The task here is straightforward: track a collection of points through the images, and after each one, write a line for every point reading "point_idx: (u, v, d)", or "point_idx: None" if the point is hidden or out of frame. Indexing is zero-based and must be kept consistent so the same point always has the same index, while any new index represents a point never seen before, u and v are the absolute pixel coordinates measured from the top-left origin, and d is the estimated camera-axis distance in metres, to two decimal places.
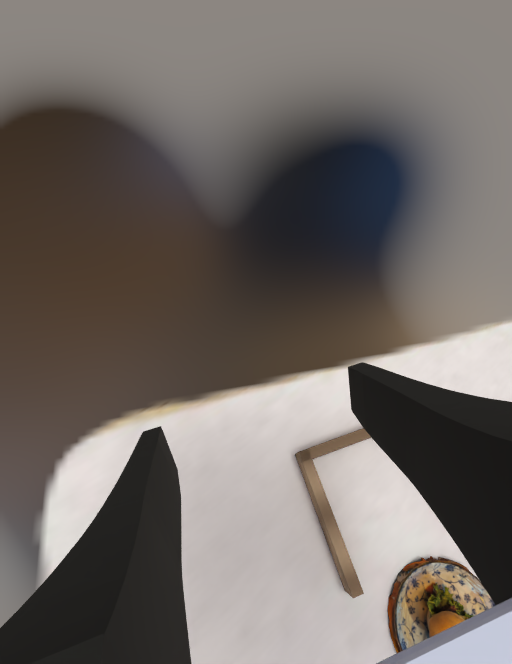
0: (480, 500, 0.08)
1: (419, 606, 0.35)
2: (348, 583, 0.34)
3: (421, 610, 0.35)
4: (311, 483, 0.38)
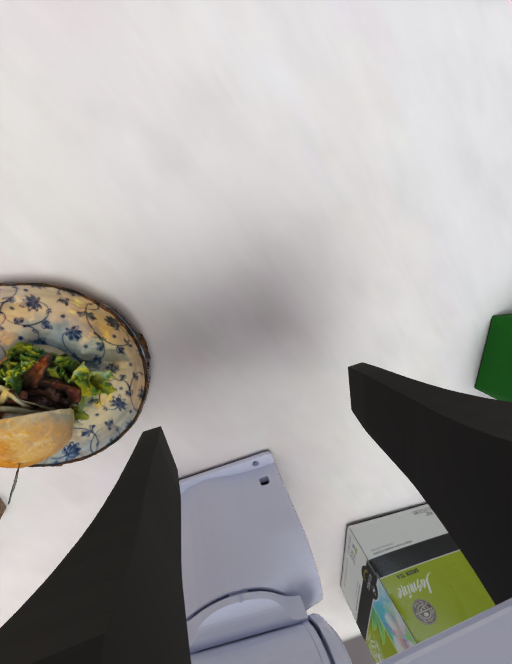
0: (480, 500, 0.08)
1: None
2: None
3: None
4: None
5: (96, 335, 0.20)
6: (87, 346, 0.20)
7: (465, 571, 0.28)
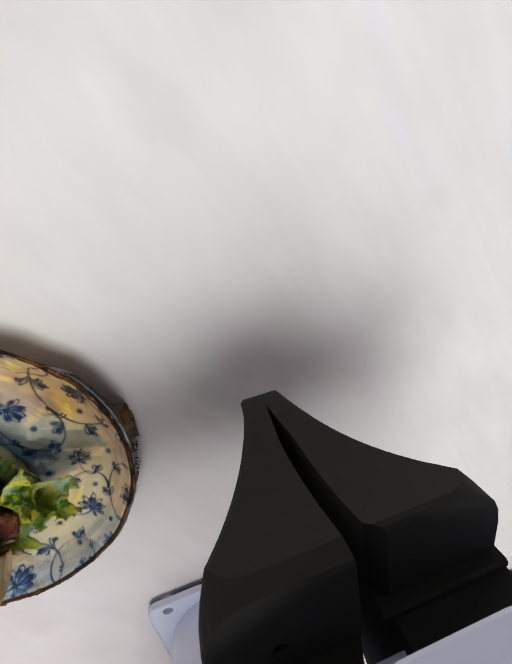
0: None
1: None
2: None
3: None
4: None
5: (49, 411, 0.12)
6: (36, 429, 0.12)
7: None
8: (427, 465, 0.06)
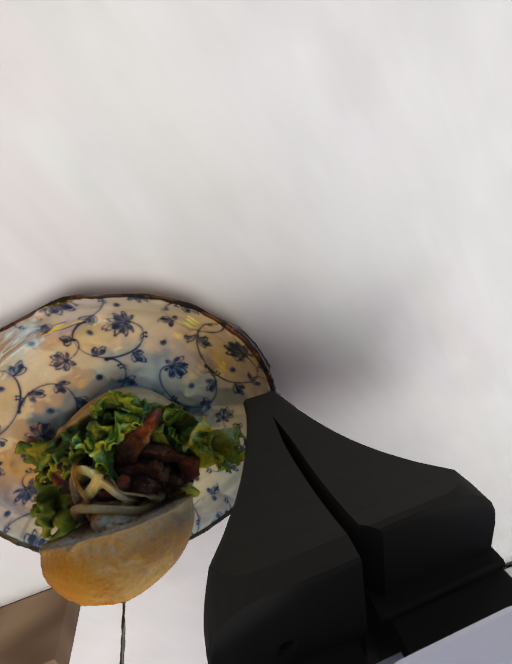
0: None
1: None
2: None
3: None
4: None
5: (207, 369, 0.13)
6: (193, 385, 0.13)
7: None
8: (424, 466, 0.06)
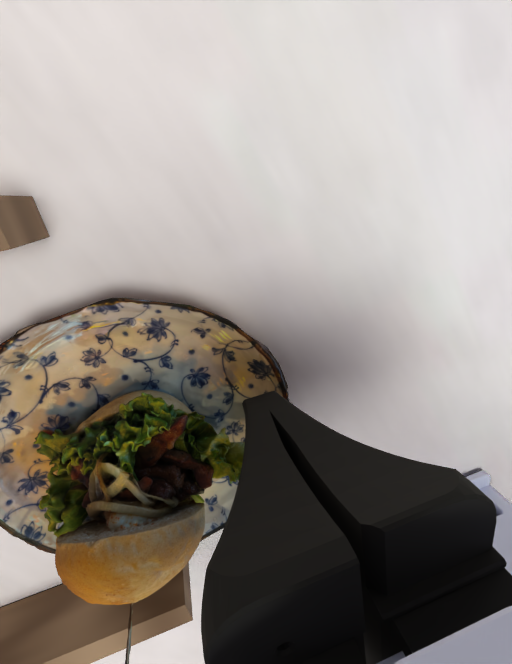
0: None
1: None
2: (163, 629, 0.14)
3: None
4: None
5: (227, 382, 0.13)
6: (211, 396, 0.14)
7: None
8: (425, 466, 0.06)
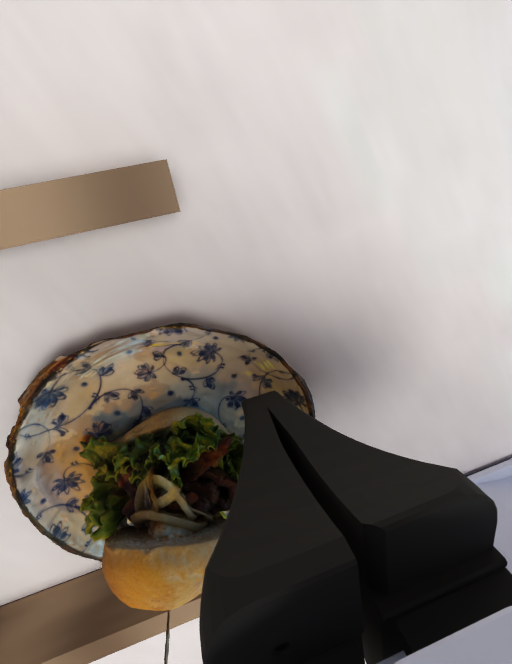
0: None
1: None
2: None
3: None
4: None
5: None
6: None
7: None
8: (426, 465, 0.06)
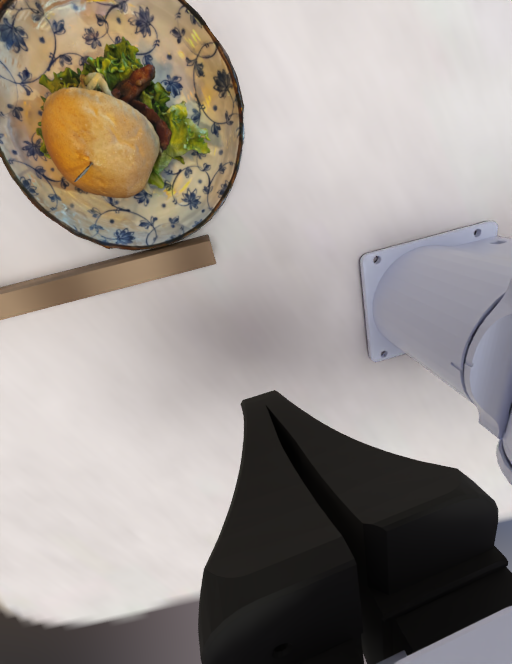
0: None
1: None
2: (192, 267, 0.17)
3: None
4: (0, 317, 0.17)
5: (196, 98, 0.17)
6: None
7: None
8: (427, 465, 0.06)
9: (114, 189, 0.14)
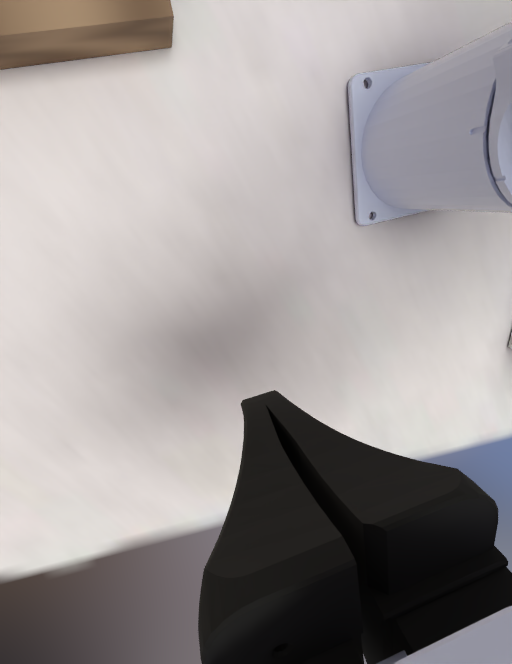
0: None
1: None
2: (141, 17, 0.13)
3: None
4: None
5: None
6: None
7: None
8: (427, 465, 0.06)
9: None
